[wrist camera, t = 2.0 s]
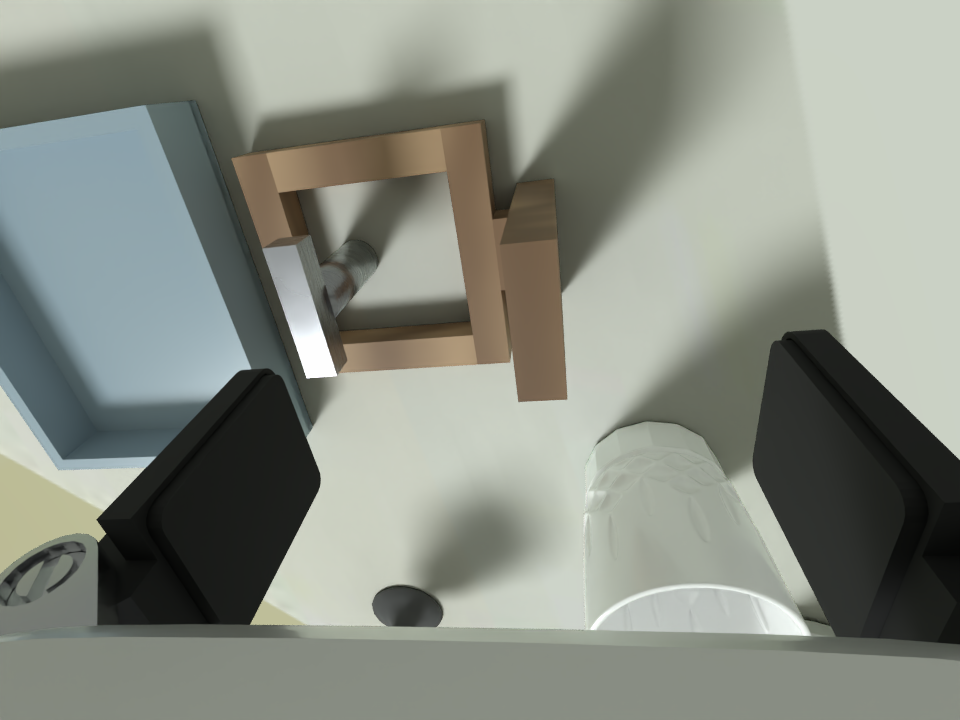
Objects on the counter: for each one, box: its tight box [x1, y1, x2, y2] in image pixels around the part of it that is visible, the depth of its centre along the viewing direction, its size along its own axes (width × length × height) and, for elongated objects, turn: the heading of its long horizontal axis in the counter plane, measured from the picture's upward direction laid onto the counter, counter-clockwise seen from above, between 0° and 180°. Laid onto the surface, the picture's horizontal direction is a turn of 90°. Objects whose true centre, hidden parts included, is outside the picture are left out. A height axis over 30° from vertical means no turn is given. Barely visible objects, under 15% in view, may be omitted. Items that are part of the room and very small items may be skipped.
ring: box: [231, 120, 567, 402], centre depth 19 cm, size 12×10×8 cm
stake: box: [262, 235, 378, 378], centre depth 21 cm, size 2×5×6 cm, turn 8°
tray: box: [0, 100, 313, 470], centre depth 25 cm, size 14×16×3 cm
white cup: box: [583, 421, 812, 636], centre depth 23 cm, size 8×8×10 cm
